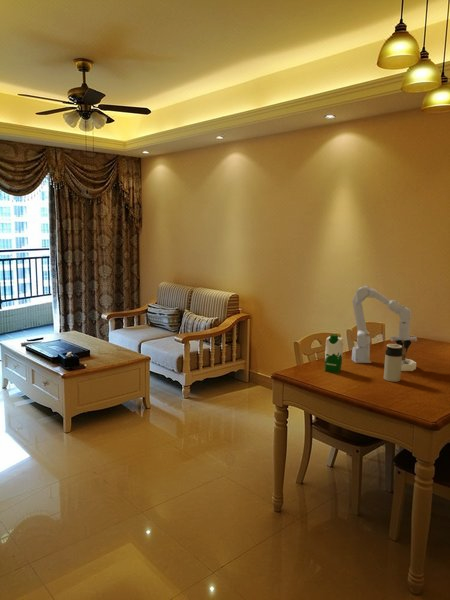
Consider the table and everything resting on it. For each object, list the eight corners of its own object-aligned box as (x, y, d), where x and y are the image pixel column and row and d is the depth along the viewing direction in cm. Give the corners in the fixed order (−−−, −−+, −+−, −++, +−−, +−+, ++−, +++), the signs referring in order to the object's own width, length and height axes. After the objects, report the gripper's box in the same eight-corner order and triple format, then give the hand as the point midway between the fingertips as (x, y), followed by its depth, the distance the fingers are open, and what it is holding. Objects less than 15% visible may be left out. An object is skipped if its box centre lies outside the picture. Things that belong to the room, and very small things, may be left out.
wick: (405, 360, 259) (406, 347, 258) (401, 360, 259) (402, 347, 258) (402, 358, 263) (403, 346, 262) (398, 358, 263) (399, 346, 262)
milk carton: (323, 371, 251) (324, 335, 248) (326, 367, 259) (328, 332, 256) (339, 373, 247) (341, 337, 244) (342, 369, 255) (344, 333, 252)
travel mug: (403, 381, 236) (405, 347, 233) (388, 382, 235) (391, 347, 232) (394, 377, 244) (397, 343, 241) (380, 377, 242) (383, 343, 240)
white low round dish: (419, 370, 255) (419, 364, 255) (394, 370, 254) (395, 364, 254) (407, 363, 269) (408, 357, 269) (384, 363, 268) (384, 357, 268)
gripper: (394, 331, 254) (392, 355, 256) (420, 331, 255) (418, 355, 257) (389, 328, 261) (387, 351, 263) (414, 328, 262) (412, 351, 264)
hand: (402, 353), depth 261 cm, fingers closed on wick, 2 cm apart
